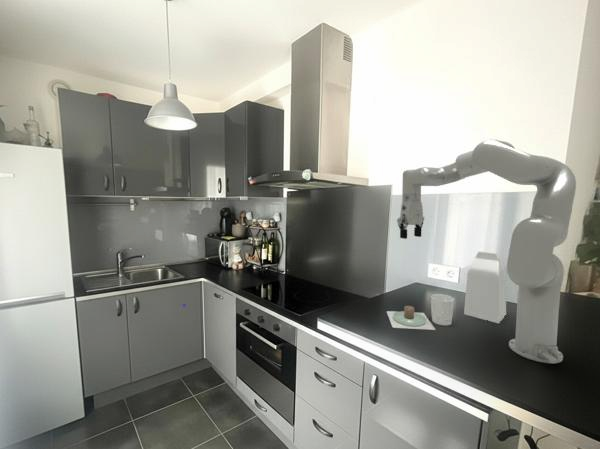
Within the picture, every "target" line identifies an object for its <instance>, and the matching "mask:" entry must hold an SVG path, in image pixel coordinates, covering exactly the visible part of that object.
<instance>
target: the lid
mask: <svg viewBox="0 0 600 449" xmlns="http://www.w3.org/2000/svg"><path fill="white" fill-rule="evenodd" d="M395 312H396V313H394V314H393V319H394V321H395V322H397V323H399V324H401V325H405V326H410V327H419V326H423V325H425V323H426V319H425V317H424V316H422V315H420V314H418V313H419V312H416V313H414V312H415V307H414V306H412V305H405V306H404V309H403V310H401V311H395Z"/></svg>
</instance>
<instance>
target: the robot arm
mask: <svg viewBox="0 0 600 449" xmlns="http://www.w3.org/2000/svg"><path fill="white" fill-rule="evenodd" d="M488 172H489V173H491V174H494V175H496V176H498V177H500V178H502V179H503V180H504V179H505V180H506V181H508V182H510V183H512V184H516V185H521V186H535V187H536V188H537V189H536V193H535V195H534V197H533V202H532V208H531V212H530V217H527V218H526V219H523V220H521V221H520V222H518V223H517V224H516V225H515V228H514V229H513V231H512V234H511V239H510V244H509V249H508V255H507V256H508V257H507V261H506V273H507V275H508V278H509V279H510V280H511V282H512V283H513V284H515V285H516V286H518V291H517V299H516V300H517V301H516V302H517V303H516V304H517V305H516V318H515V319H516V322H515V338H512V339H510V340H509V341H508V347H509V348H510V349H511V350H512V351H513V352H514V353H515V354H517V355H519V356H521V357H522V358H526V359H528V360H530V361H531V360H532V361H535V362H539V363H544V364H560V363H561V362H563V360H564V355H563V353H562V352H561V351H559V347H558V346H557V343H558V341H557V339H558V327H559V326H558V325H559V310H560V301H561V300H560V299H561V290H562V285H563V281H564V275H565V274H564V273H565V267H564V264H563V262H562V260H561V259H560V258H559V257H558V255H555V254H554V248H556V247H559V246H561V245H562V244H563V243H565V241H566V240H567V237H568V232H569V227H570V223H571V222H570V221H571V217H572V212H573V204H574V200H575V195H576V189H577V181H576V180H577V179H576V176H575V173H574V172H573V171H572V169H571V168H570V167H569V166H568V165H566V164H565V163H563V162H561V161H559V160H557V159H554V158H552V157H548V156H543V155H535V154H530V153H529V152H528V153H527V152H525V151H523V150H519V149H517V148H515V147H514V145H513V144H511V143H510V142H507V141H505V140H498V139H486V140H483V141H481V142H480V143H478V144H477V145H476V146H475V147H474V149H473V150H470V151H467V152H465V153H461V154H459V155H458V156H457V157H456V158H455V162H453V163H451V164H449V165H445V166H442V167H431V166H430V167H428V166H427V167H426V166H423V167H419V168H416V169H407V170H404V171H403V172H402V193H401V194H402V199H401V200H402V201H401V206H400V216H399V217H398V218H397V219H396V222H397V226H398V228H399V231H400V232H399V234H400V235H399V238H400V239H404V240H407V239H408V229H407V228H408V227H409V226H414V231H413V232H414V233H413V235H414V237H418V238H419V237H420V238H421V237H422V228H423V224H424V221H425V216H424V212H423V210H424V209H423V202H422V187H439V186H445V185H447V184H451V183H455V182H459V181H461V180H464V179H465V178H469V177H474V176H476V175H480V174H484V173H488Z"/></svg>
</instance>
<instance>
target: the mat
mask: <svg viewBox="0 0 600 449" xmlns="http://www.w3.org/2000/svg"><path fill="white" fill-rule="evenodd" d="M396 312H397V311H395V310H394V311H393V310H390V311H386V315H387V316H388V319H389V322H390V324H391V327H392V328H395V329H410V330H411V329H413V330H426V331H427V330H430V331H436V328H435V327H434V325H433V323H432V322H431V321H430V320H429V318H428V317H427V316H426V314H425V312H415V311H414V313H418V314H420V315H422V316H424V317H425V319H426V323H425V325H423V326H419V327H410V326H405V325H401V324H399V323H397V322H395V321H394V319H393V314H394V313H396Z"/></svg>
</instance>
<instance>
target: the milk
mask: <svg viewBox="0 0 600 449" xmlns="http://www.w3.org/2000/svg"><path fill="white" fill-rule="evenodd" d="M506 284H507V283H506V269H505V267H504V265H503V263H502V262H501V260H500V258H499V256H498V253H497V252H493V251H492V252H490V251H481V250H479V251H478V252H477V253H476V256H475V257H474V259H473V260H472V262H471V264H470V265H469V267H468V269H467V276H466V286H465V287H466V288H465V298H464V309H463V315H466V316H468V317H469V316H470V317H473V318H477V319H480V320H484V321H487V320H488V321H489V322H491V323H496V324H500V323H501V322H502V320H503V319H504V318H505V317H506V316H507V293H506V292H507V290H506V289H507V288H506V287H507V286H506ZM505 315H506V316H505ZM504 316H505V317H504ZM500 321H501V322H500Z"/></svg>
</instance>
